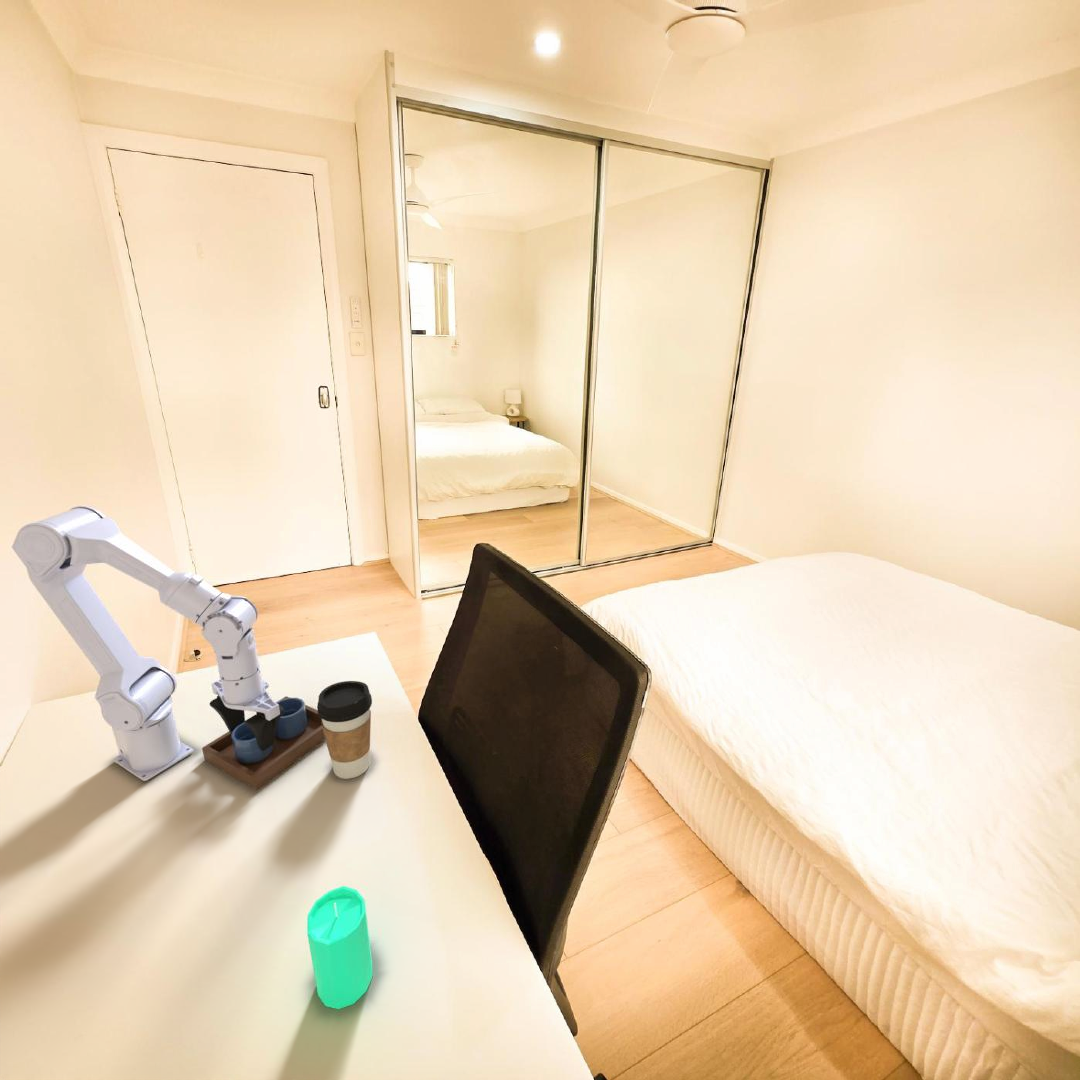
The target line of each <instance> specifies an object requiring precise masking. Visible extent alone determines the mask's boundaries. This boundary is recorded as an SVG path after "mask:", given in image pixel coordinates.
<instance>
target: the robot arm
mask: <svg viewBox="0 0 1080 1080" xmlns="http://www.w3.org/2000/svg"><path fill="white" fill-rule="evenodd" d="M11 549H12V550H13V551H14V553H15V554H16V556H17V557H18V558H19V560H20V561H21V562H22V563H23V565H24V566H25V568H26V571H27V575H28V578H29V581H30V582H31V583H32V585H33V586H34V587H35V589H36V590H37V592H38V593H39V595H40V596H41V597H42V599H43V601H45V602H46V604H47V605H48V606H49V608H50V609H51V611H52V612H53V614H54V615H55V616H56V618H57V619H58V620H59V622H60V624H61V625H62V626H63V628H64V629H65V630H66V631H67V633H68V634H69V635H70V637H71V638H72V640H73V641H74V642H75V643H76V645H77V646H78V647H79V649H80V650H81V652H82V653H83V655H85V657H86V658H87V660H88V661H89V663H90V664H91V665H92V667H93V668H94V669H95V671H96V672H97V673H98V675H99V676H100V678H99V682H98V685H97V688H96V690H95V691H96V692H95V696H94V699H95V700H96V702H97V703H98V705H99V706H100V710H101V716H102V718H103V720H104V721H105V722H106V724H108V726H110V727H111V729H112V733H113V736H114V741H115V743H116V747H117V750H118V754H119V755H118V756H116V757H115V758H113V762H114V763H116V764H117V765H118V766H120V767H122V768H123V769H124V770H126V771H127V772H129V773H130V774H132V775H133V776H135V777H136V778H137V779H139V780H141V781H143V782H146V781H149V780H151V779H152V778H154V777H155V776H157V775H159V774H161V772H164V771H165V770H168V768H171V766H173V765H175V764H177V763H178V762H179V761H182V760H183V759H185V758H186V757H188V756H190V755H191V754H193V753H194V748H192V747H191V746H189V745H187V744H185V743H183V742H182V741H181V739H180V736H179V732H178V727H177V723H176V720H175V719H176V718H175V715H174V711H173V706H172V702H173V698H172V695H173V694H174V693H175V692H176V690H177V686H178V682H177V679H176V677H175V675H174V674H173V673H172V672H171V671H169V669H166V667H163V666H162V665H161V664H160V662H159V660H158V659H157V658H155V657H151V656H150V657H149V656H140V655H139V653H138V652H137V651H136V648H135V647H134V646H133V645H132V643H131V641H130V640H129V639H128V638H127V636H126V634H125V633H124V631H123V629H121V627H120V626H119V624H118V622H117V621H116V620H115V619H114V617H113V616H112V614H111V613H110V611H109V610H108V608H107V607H106V605H105V604H104V603H103V600H101V598H100V597H99V595H98V594H97V593H96V591H95V590H94V588H93V587H92V585H91V584H90V582H89V581H88V580H87V578H86V576H85V575H84V571H85V569H86V567H87V565H92V564H93V565H94V564H106V565H108V566H110V567H112V568H114V569H116V570H117V571H119V572H121V573H124V574H125V575H127V576H129V577H131V578H133V579H135V580H136V581H139V582H141V583H142V584H145V585H146V586H148V587H151V588H152V589H154V590H156V591H157V593H158V594H159V600H160V603H162V604H163V605H165V606H166V607H168V608H169V609H170V610H173V611H174V612H176V613H178V614H179V615H181V616H182V617H184V618H186V619H188V620H189V621H191V622H193V623H194V624H196V625H198V626H199V627H201V628H202V629H201V630H200V632H201V635H202V637H203V638H204V639H205V640H206V641H207V642H208V643H209V644H210V646H211V647H212V650H213V653H214V654H215V660H216V664H217V669H218V673H219V679H217V680H216V681H214V682H212V683H211V684H210V685H211V689H212V694H215V695H216V698H214V699H212V700H211V701H210V702H209V707H211V708H212V709H213V710H214V711H215V712H216V713H217V714H218V716H220V718H221V720H222V721H223V722H224V724H225V726H226V728H227V730H228V732H229V731H230V733H231V734H232V731H233V730H234V729H235V728H236V727H237V726H239V725H240V724H242V723H244V722H245V724H247V725H248V726H249V727H250V728H251V730H252V731H253V733H254V735H255V738H256V741H257V744H258V746H259V748H260V750H262V751H264V750H266V749H267V748H269V747H270V746H272V745H273V744H274V738H275V732H276V727H277V724H278V721H279V719H280V717H281V715H282V714H283V712H284V710H283V707H282V706H280V705H279V704H277V703H276V702H275V701H274V699H273V698H272V697H271V695H270V694H269V692H268V691H267V689H268V688H269V687H270V683H269V682H268V681H265V680H262V674H261V667H260V661H259V660H260V659H259V654H258V648H257V643H256V638H255V631H254V628H253V626H254V624H255V623H256V621H257V619H258V617H259V615H258V613H259V612H258V609H257V607H256V606H255V604H254V603H253V602H252V601H250V600H249V598H247V597H245V596H243V595H232V594H230V593H223V591H221V590H219V589H217V588H216V587H214V586H213V585H212V584H209V583H208V582H206V581H205V580H204V577H202V576H201V575H199V574H198V573H195V574H193V573H192V572H190V571H180V572H178V571H177V572H176V571H174V570H173V569H171V567H168V566H167V565H166V564H164V563H163V562H162V561H161V560H159V559H157V558H156V557H155V556H153V555H152V554H150V553H149V552H148V551H147V550H146V549H144V548H142V547H141V546H139V545H138V544H137V543H135V542H134V541H133V540H131V539H130V538H129V537H128V536H126V535H124V533H122V532H121V529H120V527H119V526H118V524H117V522H116V521H115V519H113V518H110V517H108V516H105V515H104V513H102V512H101V511H100V510H98V509H97V508H94V507H93V506H88V505H77V506H74V507H72V508H70V509H69V510H66V511H63V512H60V513H58V514H56V515H52V516H49V517H47V518H45V519H42V520H39V521H36V522H30V523H27V524H25V525H23V526H22V527H21V528H20V529H19V530H18V532H17V534H16V536H15V538H14V540H13V544H12V546H11ZM245 711H247V712H255V713H256V714H254V715H252V716H251V717H249V718H247V719H246V715H245Z"/></svg>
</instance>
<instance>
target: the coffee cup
mask: <svg viewBox="0 0 1080 1080" xmlns="http://www.w3.org/2000/svg"><path fill="white" fill-rule="evenodd" d="M372 704H373V698H372V694H371V692H370V689H369V685H368V684H366V682H362V681H358V680H345V681H339V682H335V683H333V684H331V685H329V686H326V687H325V688H323V690H322V691H321V692H320V693H319V695H318V702H317V704H316V705H317V706H316V710H318V715H319V716H320V717H321V718H322V721H321V723H322V728H323V731H324V735H325V739H324V740H325V743H326V747H327V750H328V754H329V757H330V761H331V766H332V770H333V773H334V775H335V776H336V777H337V778H340V779H345V780H349V779H354V778H357V777H360V776H361V775H363V774H364V773H365V772H366V771H367V770H369V767H370V765H371V727H372V726H371V725H372V724H371V723H372V722H371V721H372V711H371V707H372Z"/></svg>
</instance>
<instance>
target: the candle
mask: <svg viewBox="0 0 1080 1080" xmlns="http://www.w3.org/2000/svg"><path fill="white" fill-rule="evenodd" d="M306 935H307V940H308V944H309V951H310V957H311V962H312V969H313V975H314V980H315V986H316V987H315V988H316V992H317V996H318V998H319V1000H320V1001H321V1003H323V1005H324V1006H325V1007H327V1008H330V1009H331V1008H332V1009H335V1010H340V1009H343V1008H346V1007H349V1006H352V1005H354V1004H355V1003H356V1002H357V1001H358V1000H359V999H361V997H363V995H364V994H366V993H367V991H368V989H369V986H370V984H371V981H372V979H373V977H374V976H373V975H374V974H373V959H372V950H371V942H370V941H371V940H370V933H369V926H368V917H367V907H366V900H365V898H364V897H363V896H362V894H361V893H360V892H359V891H358V890H357V889H355V888H351V887H350V886H349V887H348V886H345V885H341V886H339V887H337V888H334V889H331V890H329V891H327V892H326V893H324V894H323V895H322V896H320V897H319V898H318V899H317V900H315V901H314V903H313V905H312V907H311V908H310V910H309V911H308V914H307V919H306Z"/></svg>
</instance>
